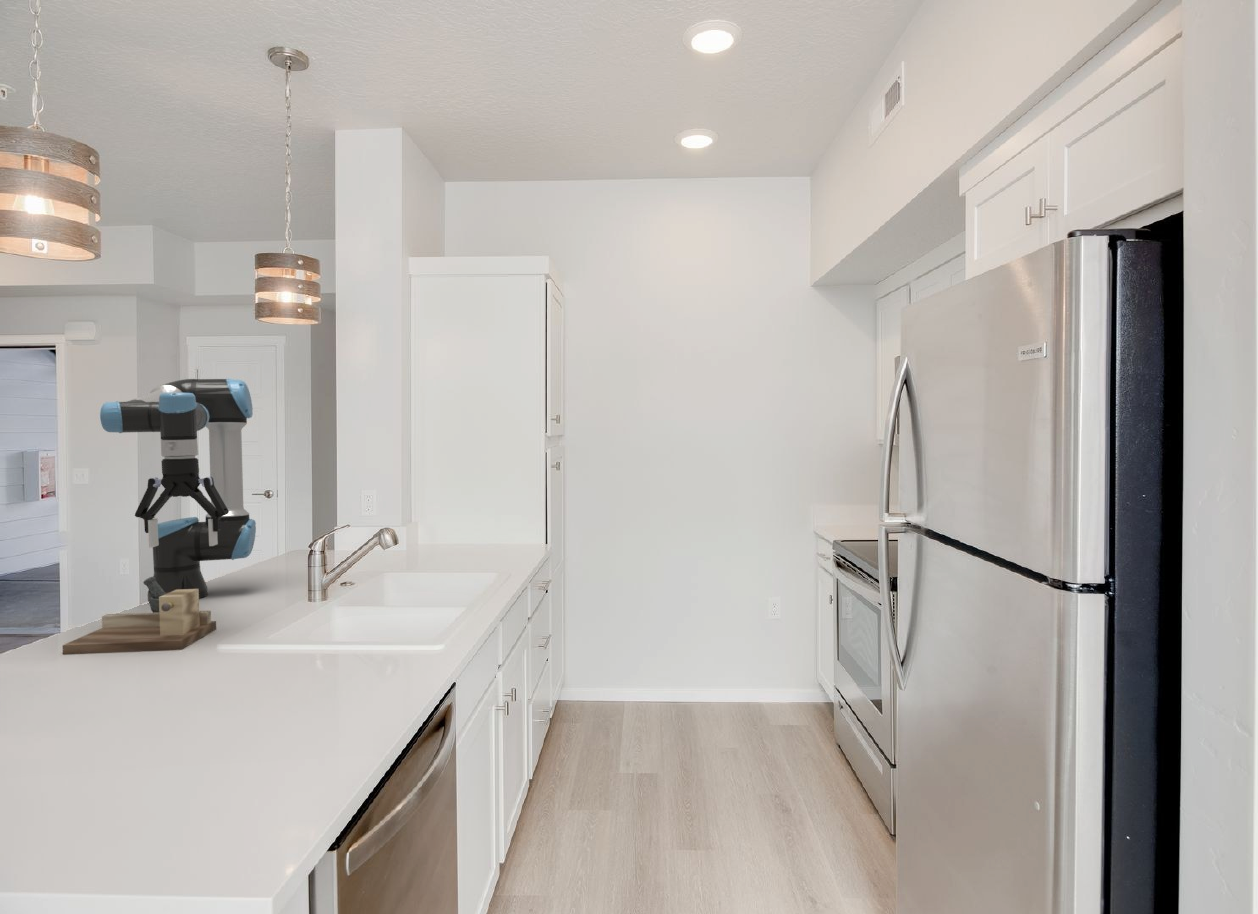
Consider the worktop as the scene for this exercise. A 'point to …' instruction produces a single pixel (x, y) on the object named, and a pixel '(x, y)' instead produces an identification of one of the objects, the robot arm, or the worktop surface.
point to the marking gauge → (179, 612)
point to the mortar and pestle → (154, 593)
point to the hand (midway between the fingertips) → (183, 546)
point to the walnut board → (136, 635)
